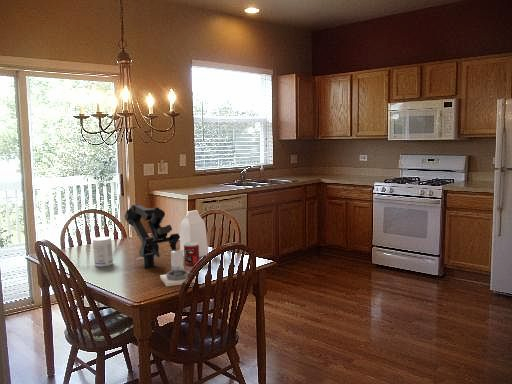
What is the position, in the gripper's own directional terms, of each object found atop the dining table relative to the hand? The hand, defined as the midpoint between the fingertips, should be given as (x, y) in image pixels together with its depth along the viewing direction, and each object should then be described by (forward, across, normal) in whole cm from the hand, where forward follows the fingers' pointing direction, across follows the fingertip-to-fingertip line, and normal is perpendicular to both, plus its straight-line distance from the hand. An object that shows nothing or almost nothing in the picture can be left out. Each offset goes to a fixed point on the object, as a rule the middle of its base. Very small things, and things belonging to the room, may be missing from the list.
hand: (167, 254), depth 231 cm
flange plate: (+14, 0, +1) cm, 14 cm away
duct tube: (+13, 0, 0) cm, 13 cm away
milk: (-10, +31, +26) cm, 42 cm away
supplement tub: (-22, -17, +38) cm, 47 cm away
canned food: (0, +20, +16) cm, 26 cm away
